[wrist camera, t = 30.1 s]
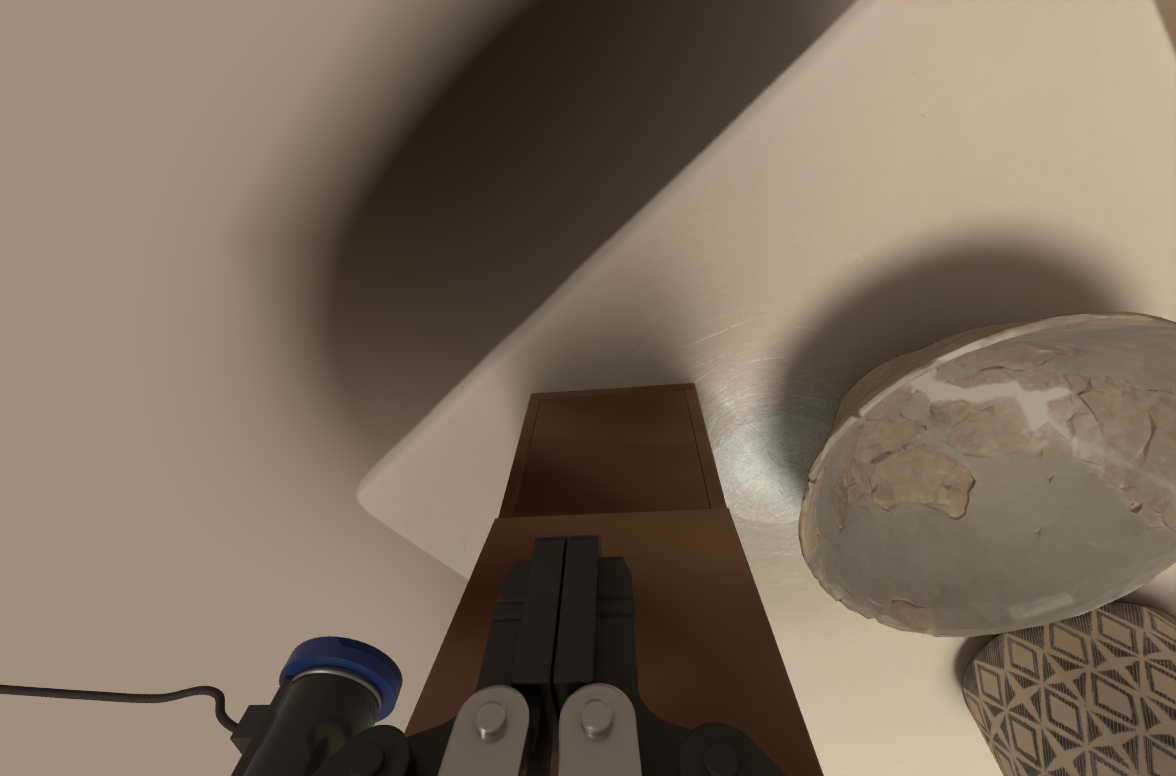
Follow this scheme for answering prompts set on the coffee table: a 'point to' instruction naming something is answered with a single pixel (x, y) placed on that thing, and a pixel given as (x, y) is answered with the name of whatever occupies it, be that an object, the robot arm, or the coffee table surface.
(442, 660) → the lid
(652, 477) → the chest
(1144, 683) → the planter
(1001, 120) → the coffee table surface
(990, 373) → the ceramic bowl
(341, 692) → the robot arm
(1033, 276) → the coffee table surface
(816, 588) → the coffee table surface
